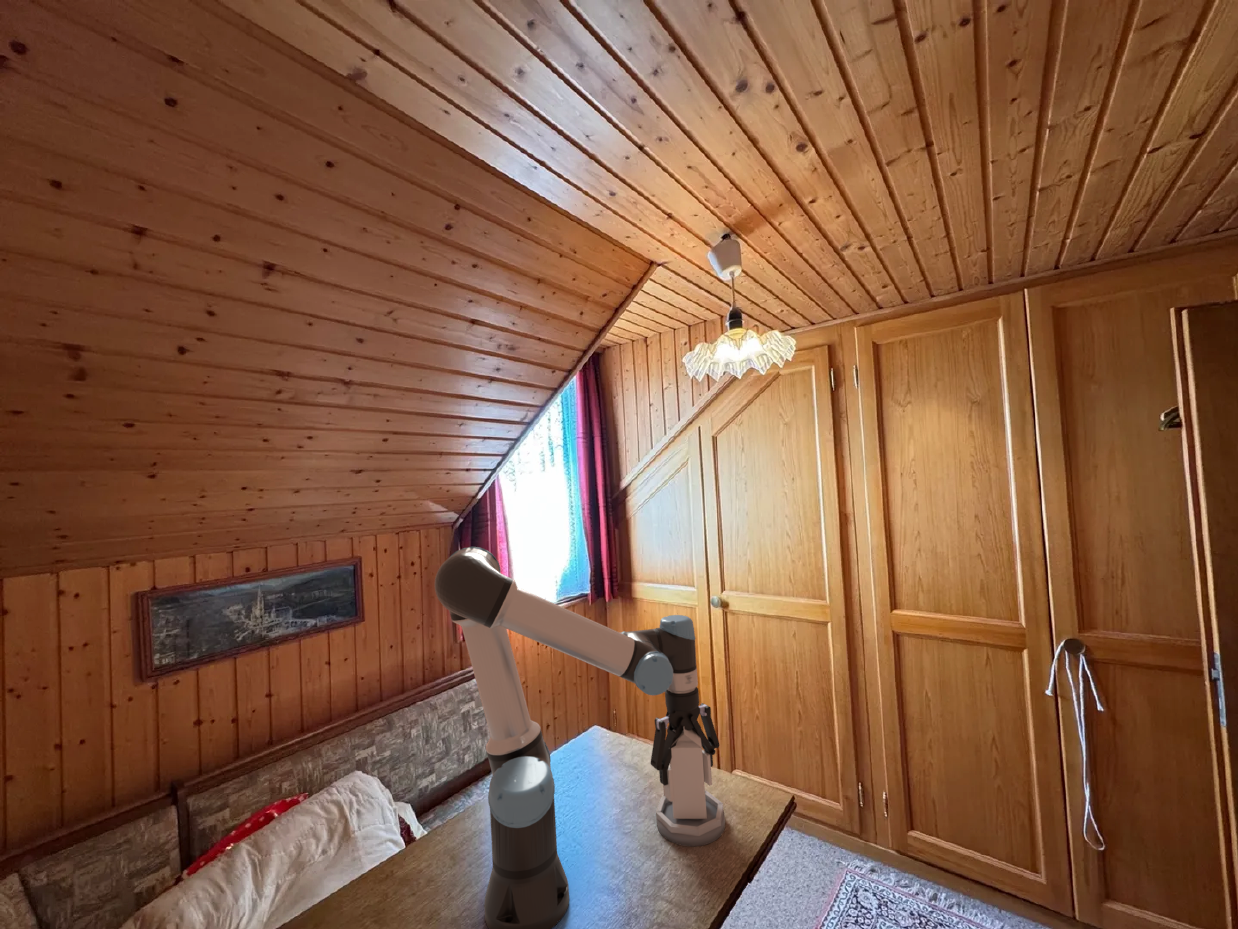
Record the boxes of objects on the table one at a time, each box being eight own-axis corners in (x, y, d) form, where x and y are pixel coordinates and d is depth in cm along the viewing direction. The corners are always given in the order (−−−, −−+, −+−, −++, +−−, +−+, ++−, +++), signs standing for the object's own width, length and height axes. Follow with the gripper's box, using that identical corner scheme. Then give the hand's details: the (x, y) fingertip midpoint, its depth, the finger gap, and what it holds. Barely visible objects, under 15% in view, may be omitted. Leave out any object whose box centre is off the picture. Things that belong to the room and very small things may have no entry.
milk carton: (704, 799, 116) (698, 714, 117) (706, 820, 109) (700, 728, 110) (673, 799, 117) (667, 715, 118) (673, 820, 110) (667, 729, 111)
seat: (682, 856, 103) (681, 840, 103) (643, 817, 116) (643, 802, 116) (739, 828, 110) (738, 813, 110) (697, 794, 123) (696, 780, 123)
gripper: (647, 705, 106) (654, 817, 104) (731, 680, 116) (738, 781, 115) (629, 694, 112) (636, 799, 111) (710, 671, 123) (717, 766, 122)
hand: (688, 790), depth 113 cm, fingers closed on milk carton, 10 cm apart
